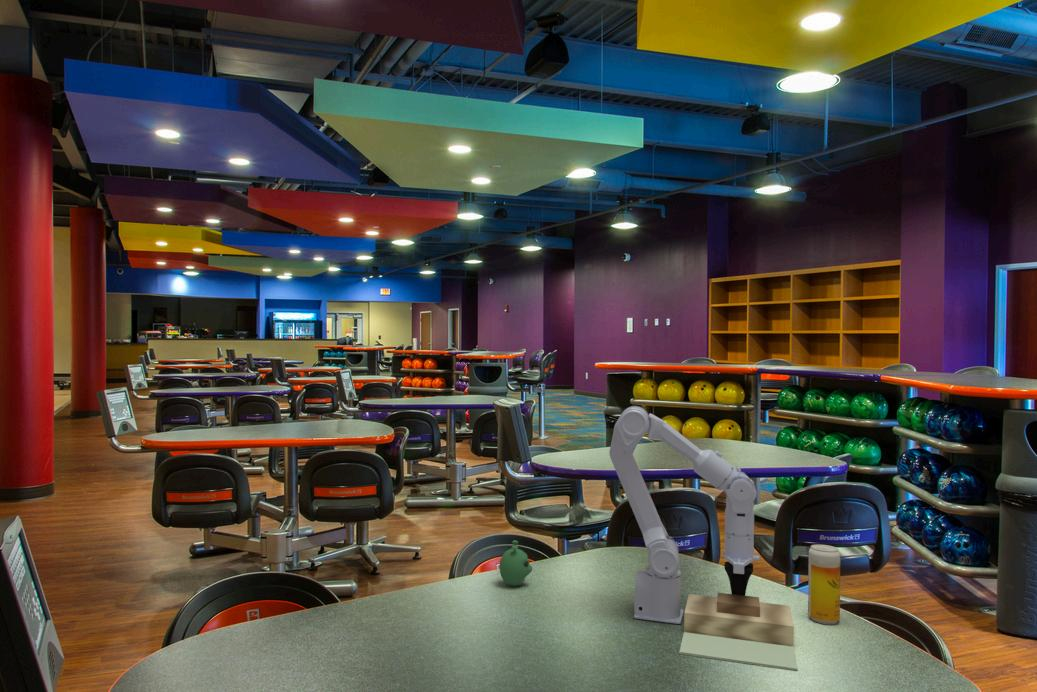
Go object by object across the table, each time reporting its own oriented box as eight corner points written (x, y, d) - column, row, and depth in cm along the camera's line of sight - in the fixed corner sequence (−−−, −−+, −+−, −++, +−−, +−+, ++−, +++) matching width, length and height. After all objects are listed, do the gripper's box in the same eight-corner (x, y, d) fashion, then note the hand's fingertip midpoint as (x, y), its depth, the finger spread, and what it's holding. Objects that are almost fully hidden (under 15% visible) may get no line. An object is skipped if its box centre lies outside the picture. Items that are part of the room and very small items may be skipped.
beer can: (843, 626, 143) (843, 552, 143) (811, 623, 144) (812, 550, 144) (835, 616, 149) (836, 545, 149) (805, 613, 150) (806, 543, 150)
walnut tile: (717, 612, 138) (717, 601, 138) (717, 602, 144) (717, 592, 144) (759, 617, 136) (760, 606, 136) (758, 607, 142) (758, 597, 142)
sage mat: (679, 654, 128) (679, 651, 128) (683, 634, 137) (683, 632, 137) (797, 671, 121) (797, 668, 121) (793, 648, 131) (793, 646, 131)
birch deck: (684, 633, 138) (684, 612, 138) (688, 612, 149) (689, 593, 149) (793, 647, 131) (793, 626, 132) (789, 625, 143) (789, 605, 143)
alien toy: (532, 590, 162) (532, 546, 162) (498, 589, 162) (499, 546, 162) (531, 581, 169) (532, 539, 169) (499, 580, 169) (500, 538, 169)
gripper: (760, 543, 136) (759, 614, 136) (758, 527, 150) (758, 591, 150) (722, 539, 138) (721, 609, 138) (724, 524, 152) (723, 587, 152)
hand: (738, 599), depth 144 cm, fingers closed
